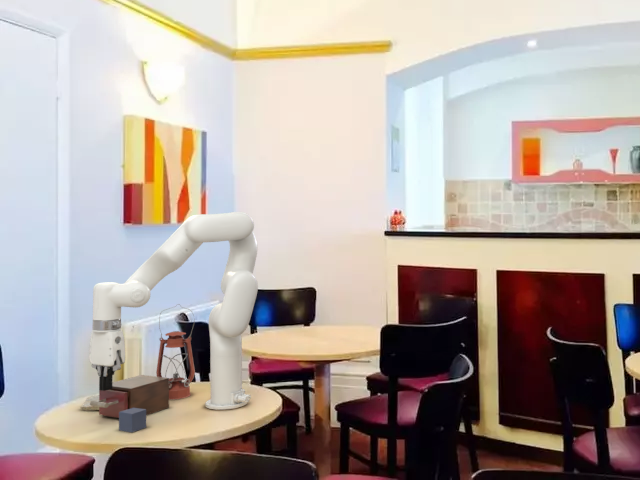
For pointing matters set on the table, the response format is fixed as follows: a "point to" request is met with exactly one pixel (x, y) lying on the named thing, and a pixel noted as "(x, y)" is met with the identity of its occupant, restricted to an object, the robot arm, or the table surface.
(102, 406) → the drawer
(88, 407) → the stone
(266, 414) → the table surface
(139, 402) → the cabinet
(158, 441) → the table surface
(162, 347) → the lantern
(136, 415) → the block
